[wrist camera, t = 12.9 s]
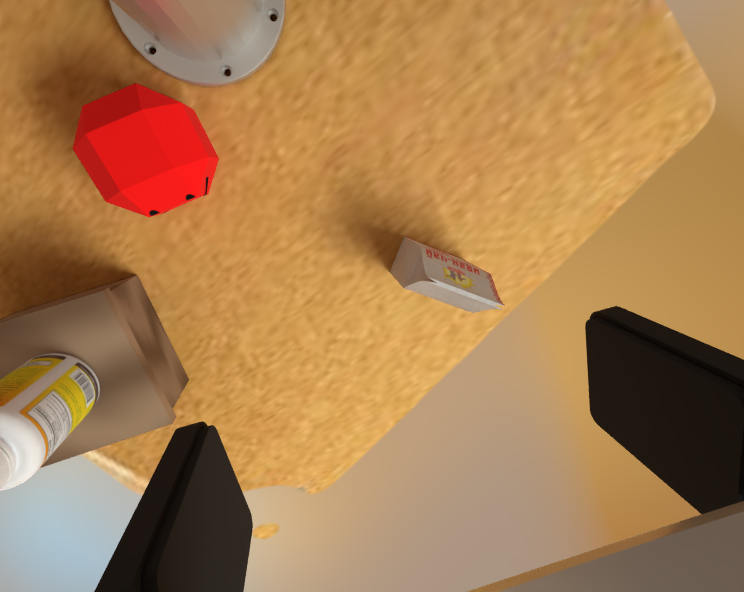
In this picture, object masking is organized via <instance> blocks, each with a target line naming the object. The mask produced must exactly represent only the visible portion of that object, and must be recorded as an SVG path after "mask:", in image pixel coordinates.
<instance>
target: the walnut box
mask: <svg viewBox="0 0 744 592" xmlns="http://www.w3.org/2000/svg"><path fill="white" fill-rule="evenodd" d="M51 353H57V354H66V355H70V356H73V357H75V358H77V359H79V360H81V361H83V362H84V363H86V364H87V365H88V366H89V367H90V368H91V369H92V370H93V371H94V373H95V374H96V376H97V378H98V381H99V386H100V393H99V397H98V400H97V402H96V404H95V405H94V407H93V408H92V409H91V411H90V412H89V413H88V414H87V415H86V416H85V417H84V418H83V420H82V421H81V422H80V423H79V424H78V425H77V426H76V427H75V429H74V430H73V431H72V432H71V433H70V434H69V435H68V436H67V438H66V439H65V440H64V441H63V442H62V443H61V445H59V447H58V448H57V449H56V450H55V451H54V452H53V453H52V455H51V456H50V457H49V458H48V459H47V460H46V461H45V463H44V464H43V465H42V466H41V467H44V466H47V465H50V464H53V463H56V462H59V461H62V460H65V459H68V458H71V457H74V456H77V455H80V454H83V453H86V452H89V451H92V450H95V449H98V448H101V447H104V446H107V445H110V444H113V443H116V442H119V441H122V440H125V439H128V438H131V437H134V436H137V435H140V434H143V433H146V432H149V431H152V430H155V429H158V428H161V427H164V426H167V425H170V424H173V422H174V420H175V418H176V415H175V413H174V411H173V410H172V409H173V407H174V405H175V404H176V402H177V400H178V398H179V397H180V395H181V393H182V391H183V389H184V388H185V386H186V384H187V382H188V381H189V379H188V377H187V375H186V373H185V371H184V369H183V367H182V365H181V363H180V361H179V358H178V356H177V354H176V352H175V350H174V348H173V346H172V344H171V342H170V340H169V338H168V336H167V334H166V332H165V330H164V328H163V326H162V324H161V322H160V320H159V318H158V316H157V314H156V312H155V310H154V308H153V306H152V304H151V302H150V300H149V298H148V296H147V294H146V292H145V290H144V288H143V286H142V283H141V281H140V279H139V277H138V275H136V276H132V277H129V278H126V279H123V280H119V281H116V282H113V283H110V284H107V285H103V286H100V287H97V288H94V289H90V290H87V291H84V292H81V293H77V294H74V295H71V296H68V297H65V298H61V299H58V300H55V301H52V302H48V303H45V304H42V305H39V306H35V307H32V308H29V309H26V310H23V311H19V312H16V313H13V314H11V315H8V316H6V317H4V318H2V319H0V380H1V379H2V378H4V377H5V376H7V375H8V374H10V373H11V372H13V371H14V370H15V369H17V368H18V367H20V366H21V365H23V364H24V363H26V362H27V361H29V360H30V359H32V358H34V357H37V356H40V355H44V354H51ZM41 467H40V468H41Z"/></svg>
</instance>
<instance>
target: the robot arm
mask: <svg viewBox="0 0 744 592" xmlns="http://www.w3.org/2000/svg"><path fill="white" fill-rule="evenodd" d="M109 3H110V6H111V9H112V12H113V14H114V16H115V18H116V20H117V22H118V24H119V26H120V28H121V30H122V31H123V33H124V34H125V35H126V37H127V38H128V40H129V41H130V42H131V44H132V45H133V46H134V48H135V49H136V50H137V51H138V52H139V53H140V54H141V55H142V56H144V57H145V58H146V59H147V60H148V61H149V62H150V63H151V64H153V65H154V66H155V67H157V68H158V69H160V70H161V71H163V72H165V73H166V74H168V75H170V76H171V77H173V78H175V79H178V80H180V81H183V82H186V83H188V84H192V85H198V86H203V87H222V86H226V85H230V84H235V83H237V82H239V81H242V80H244V79H246V78H248V77H250V76H251V75H252V74H254V73H255V72H256V71H258V70H259V69H260V68H261V67H262V66H263V65H264V64H265V62H266V61H267V60H268V59H269V58H270V57H271V55H272V53H273V51H274V49H275V48H276V46H277V44H278V42H279V38H280V35H281V32H282V29H283V24H284V16H285V0H109ZM271 16H276V17H277V20H276V21H271V19H270V18H271ZM153 48H155V49H156V53H155V54H154V55H152V54H151V50H152V49H153ZM227 70H229V71H231V75H230V76H226V75H225V72H226V71H227ZM585 327H586V328H585V329H586V345H587V346H586V347H587V365H588V381H589V382H588V383H589V399H590V412H591V415H592V417H593V419H594V421H595V422H596V423H597V424H598V425H599V426H600V427H601V428H602V429H603V430H605V431H606V432H607V433H608V434H609V435H610V436H611V437H613V438H614V439H615V440H616V441H617V442H618V443H620V444H621V445H622V446H623V447H624V448H625V449H626V450H628V451H629V452H630V453H631V454H632V455H634V456H635V457H636V458H637V459H638V460H639V461H640V462H642V463H643V464H644V465H645V466H646V467H647V468H649V469H650V470H651V471H652V472H653V473H654V474H656V475H657V476H658V477H659V478H660V479H661V480H663V481H664V482H665V483H666V484H667V485H668V486H670V487H671V488H672V489H673V490H674V491H675V492H676V493H678V494H679V495H680V496H681V497H682V498H684V499H685V500H686V501H687V502H688V503H689V504H690V505H692V506H693V507H694V508H695V509H697V510H698V511H699V512H700V513H701V514H702V515H699V516H696V517H692V518H689V519H687V520H683V521H680V522H677V523H674V524H671V525H668V526H665V527H662V528H659V529H656V530H652V531H649V532H647V533H643V534H640V535H637V536H634V537H631V538H628V539H625V540H622V541H618V542H616V543H612V544H609V545H606V546H603V547H601V548H597V549H594V550H591V551H589V552H585V553H582V554H579V555H576V556H573V557H570V558H567V559H564V560H561V561H558V562H555V563H552V564H549V565H546V566H543V567H540V568H537V569H534V570H531V571H528V572H525V573H522V574H519V575H516V576H513V577H510V578H507V579H504V580H501V581H498V582H495V583H492V584H489V585H486V586H483V587H480V588H477V589H474V590H471V591H468V592H744V360H743V359H741V358H738V357H736V356H734V355H731V354H729V353H726V352H724V351H722V350H719V349H717V348H715V347H712V346H710V345H708V344H705V343H703V342H701V341H698V340H696V339H694V338H691V337H689V336H687V335H684V334H682V333H679V332H677V331H675V330H672V329H670V328H668V327H665V326H663V325H661V324H658V323H656V322H654V321H651V320H649V319H647V318H644V317H642V316H640V315H637V314H635V313H633V312H630V311H628V310H626V309H623V308H621V307H617V306H615V307H611V308H607V309H604V310H600V311H596V312H593V313H592V314H591V316H590V319H589V320H588V321H587V322H586V326H585ZM252 525H253V524H252V516H251V513H250V510H249V508H248V505H247V502H246V500H245V498H244V495H243V493H242V490H241V488H240V485H239V483H238V480H237V478H236V476H235V473H234V471H233V468H232V466H231V463H230V461H229V458H228V456H227V454H226V451H225V449H224V446H223V444H222V441H221V439H220V436H219V434H218V432H217V429H216V428H215V426H213V425H211V426H207V424H206V423H205V422H203V421H202V422H198V423H195V424H191V425H188V426H184V427H180V428H177V429H176V431H175V432H174V434H173V436H172V438H171V440H170V442H169V444H168V446H167V448H166V450H165V452H164V454H163V456H162V458H161V460H160V462H159V464H158V466H157V468H156V470H155V472H154V474H153V476H152V478H151V480H150V482H149V484H148V486H147V488H146V490H145V492H144V494H143V496H142V498H141V500H140V502H139V504H138V506H137V508H136V510H135V512H134V514H133V516H132V518H131V520H130V522H129V524H128V526H127V528H126V530H125V532H124V534H123V536H122V538H121V540H120V542H119V544H118V546H117V548H116V550H115V552H114V554H113V556H112V558H111V560H110V562H109V564H108V566H107V568H106V570H105V572H104V574H103V576H102V578H101V580H100V582H99V584H98V586H97V588H96V590H95V591H94V592H243V590H244V583H245V576H246V570H247V563H248V556H249V549H250V542H251V536H252V528H253V526H252Z"/></svg>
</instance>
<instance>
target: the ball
mask: <svg viewBox="0 0 744 592" xmlns="http://www.w3.org/2000/svg"><path fill="white" fill-rule="evenodd" d="M73 150H74V152H75V153H76V155H77V157H78V158H79V160H80V161H81V163H82V165H83V166H84V168H85V169H86V171H87V173H88V174H89V176H90V177H91V179H92V181H93V182H94V184H95V185H96V187H97V189H98V190H99V192H100V193H101V195H102V197H103V198H104V200H105V201H106V202H108V203H111V204H114V205H116V206H119V207H122V208H125V209H128V210H130V211H133V212H136V213H139V214H142V215H145V216H147V217H151V216H155V215H158V214H161V213H165V212H168V211H169V210H171V209H174V208H176V207H178V206H181V205H183V204H185V203H187V202H190V201H192V200H194V199H197V198H199V197H201V196H204V195H207V194H208V193H209V189H210V186H211V183H212V180H213V176H214V173H215V170H216V167H217V163H218V160H219V158H218V156H217V154H216V152H215V150H214V148H213V146H212V144H211V142H210V140H209V138H208V136H207V134H206V132H205V131H204V129H203V127H202V125H201V123H200V121H199V119H198V117H197V115H196V113H195V111H194V110H193V109H191V108H190V107H188V106H186V105H184V104H183V103H181V102H179V101H176V100H174V99H172V98H169V97H167V96H165V95H162V94H160V93H158V92H155V91H153V90H151V89H148V88H146V87H144V86H141V85H139V84H137V83H135V84H133V85H130V86H128V87H125V88H123V89H121V90H118V91H116V92H114V93H111V94H109V95H107V96H104V97H102V98H100V99H97V100H95V101H93V102H90V103H88V104H86V105H83V106H82V110H81V115H80V119H79V123H78V128H77V132H76V136H75V141H74V145H73Z"/></svg>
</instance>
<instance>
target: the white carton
mask: <svg viewBox="0 0 744 592" xmlns="http://www.w3.org/2000/svg"><path fill="white" fill-rule="evenodd" d="M390 273H391V274H392V275H393V276H394V278H395V279H396V280H397V281H398V282H399V283H400V284H401V286H402V287H403V288H405V289H408V290H411V291H413V292H416V293H419V294H422V295H424V296H427V297H430V298H433V299H436V300H438V301H441V302H444V303H447V304H449V305H452V306H455V307H458V308H461V309H463V310H466V311H469V312H472V313H474V312H479V311H484V310H489V309H501V308H499V307H498V306H496V305H494V304H497V305H504V304H503V303H502V302H501V300H500V298H499V296H498V294H497V291H496V288H495V285H494V282H493V279H492V276H491V274H489V273H487V272H486V271H484V270H482V269H480V268H478V267H476V266H474V265H473V264H471V263H469V262H467V261H465V260H463V259H460V258H458V257H455V256H453V255H450V254H447V253H445V252H442V251H440V250H437V249H435V248H432V247H430V246H427V245H425V244H422V243H420V242H417V241H415V240H412V239H409V238H407V237H404V238H403V241H402V243H401V246H400V248H399V250H398V253H397V255H396V258H395V260H394V263H393V265H392V267H391V270H390ZM501 310H502V309H501Z"/></svg>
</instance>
